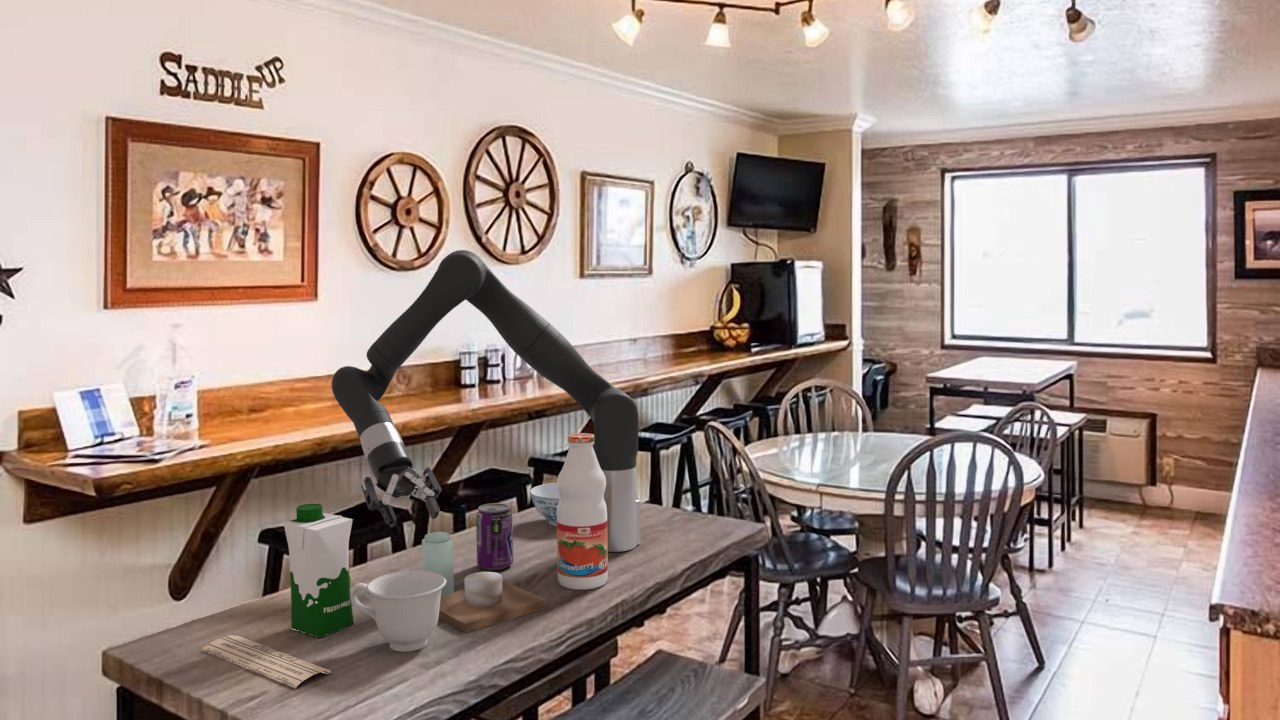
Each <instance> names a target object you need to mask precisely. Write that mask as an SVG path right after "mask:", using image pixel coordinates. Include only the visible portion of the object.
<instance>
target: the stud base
mask: <svg viewBox="0 0 1280 720" xmlns="http://www.w3.org/2000/svg"><path fill="white" fill-rule="evenodd" d="M544 609H546V599H545V598H542V597H541V596H538V595H536V594H533V593H531V592H529V591H527V590H524V589H522V588H520V587H517V586H515V585H513V584H511V583H509V582H507V581H504V580H503V576H502V574H500V573H499V572H493V571H480V572H479V571H478V572H473V573H470V574H468V575H466V576H465V577H464V589H461V590H458V591H454V592H453V593H450V594H446V595H442V596H441V598H440V609H439V617H438V620H441V621H443V622H445V623H446V624H448V625H450V626H452V627H454V628H455V629H458V630H459V631H461V632H462V633H464V634H465V633H469V632H472V631H476V630H479V629H483V628H486V627H490V626H492V625H495V624H498V623H501V622H505V621H508V620H512V619H515V618H517V617H522V616H524V615H528V614H532V613H535V612H537V611H541V610H544Z"/></svg>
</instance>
